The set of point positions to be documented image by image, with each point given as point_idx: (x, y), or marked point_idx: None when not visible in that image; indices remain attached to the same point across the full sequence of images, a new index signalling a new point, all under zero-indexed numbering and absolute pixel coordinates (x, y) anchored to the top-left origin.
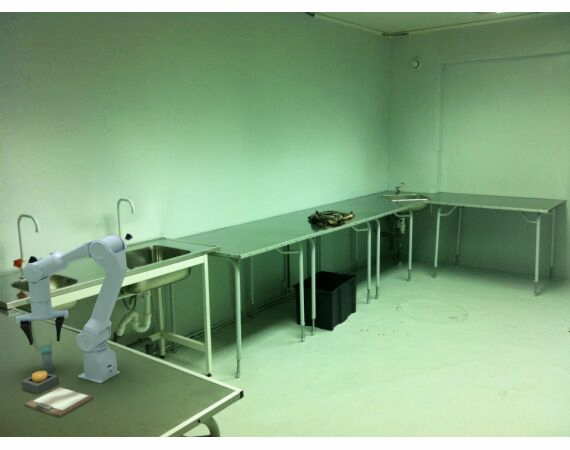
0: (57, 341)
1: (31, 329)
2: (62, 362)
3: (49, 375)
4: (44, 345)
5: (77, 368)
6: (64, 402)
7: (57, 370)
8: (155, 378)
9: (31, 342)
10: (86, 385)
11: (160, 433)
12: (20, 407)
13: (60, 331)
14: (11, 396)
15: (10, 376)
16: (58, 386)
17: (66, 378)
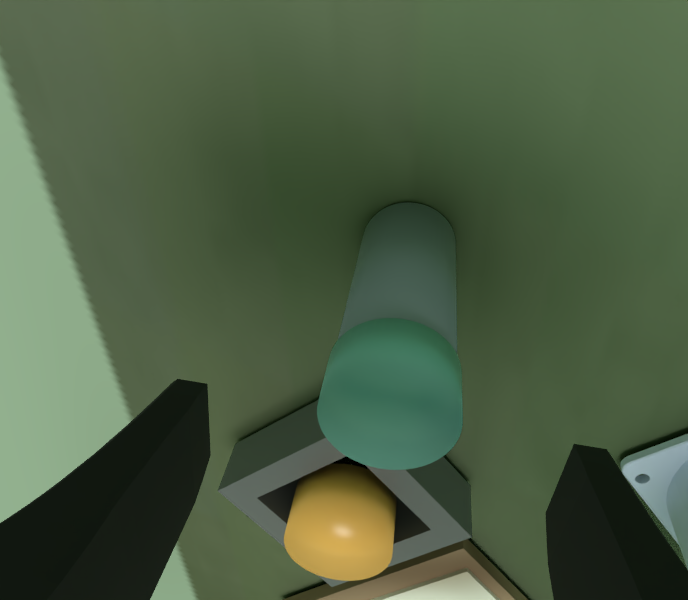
0: (552, 514)
1: (96, 547)
2: (572, 70)
3: (411, 504)
4: (371, 371)
5: (669, 298)
6: None
7: (490, 254)
8: None
9: (190, 496)
10: None
11: None
12: (261, 592)
13: (667, 562)
14: None
15: (89, 182)
16: (460, 550)
17: (534, 425)
